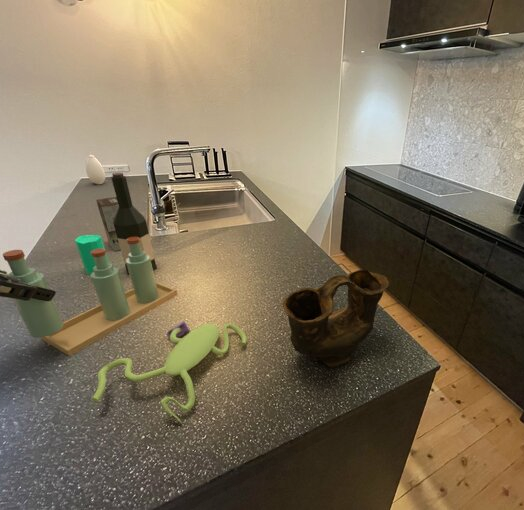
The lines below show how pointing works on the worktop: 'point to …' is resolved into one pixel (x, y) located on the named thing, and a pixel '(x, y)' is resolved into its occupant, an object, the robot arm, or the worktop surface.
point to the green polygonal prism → (89, 250)
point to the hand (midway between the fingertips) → (43, 291)
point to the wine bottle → (129, 221)
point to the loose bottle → (33, 311)
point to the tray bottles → (111, 284)
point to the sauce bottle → (95, 170)
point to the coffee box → (109, 219)
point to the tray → (101, 322)
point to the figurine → (178, 359)
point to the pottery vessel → (334, 316)
